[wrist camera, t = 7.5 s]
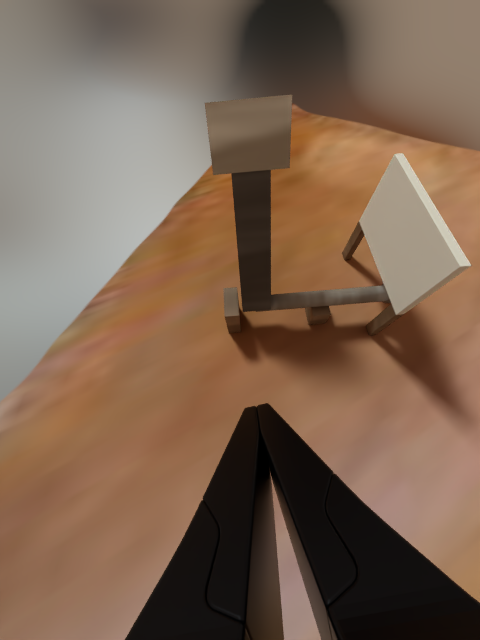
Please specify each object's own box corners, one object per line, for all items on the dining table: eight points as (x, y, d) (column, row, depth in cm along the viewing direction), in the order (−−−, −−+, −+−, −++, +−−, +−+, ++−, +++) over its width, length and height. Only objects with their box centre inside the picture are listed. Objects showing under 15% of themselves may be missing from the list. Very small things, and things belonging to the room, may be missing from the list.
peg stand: (375, 334, 22) (403, 314, 18) (229, 346, 22) (224, 328, 18) (347, 252, 26) (365, 220, 22) (225, 262, 26) (220, 233, 22)
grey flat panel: (405, 314, 18) (473, 265, 12) (396, 314, 18) (460, 266, 12) (366, 220, 22) (404, 153, 16) (359, 221, 22) (394, 154, 16)
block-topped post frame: (399, 309, 19) (483, 76, 12) (231, 323, 20) (204, 103, 12) (380, 294, 22) (439, 92, 14) (231, 306, 22) (209, 114, 14)
